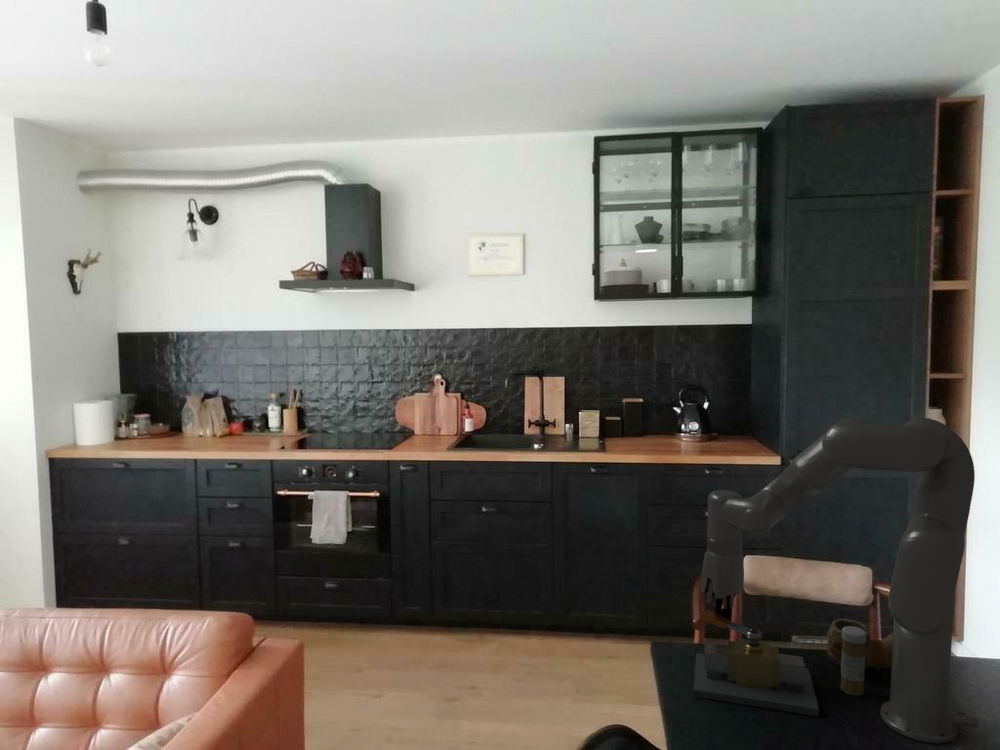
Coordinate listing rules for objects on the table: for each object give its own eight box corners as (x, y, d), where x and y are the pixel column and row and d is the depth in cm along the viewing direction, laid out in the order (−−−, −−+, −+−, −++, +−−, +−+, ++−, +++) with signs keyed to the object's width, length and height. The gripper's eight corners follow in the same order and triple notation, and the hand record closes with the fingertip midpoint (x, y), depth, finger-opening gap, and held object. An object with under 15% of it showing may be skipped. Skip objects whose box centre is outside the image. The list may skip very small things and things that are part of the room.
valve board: (808, 675, 147) (808, 668, 147) (818, 716, 132) (818, 709, 132) (696, 659, 155) (696, 653, 155) (693, 696, 140) (693, 689, 140)
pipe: (914, 683, 144) (915, 638, 143) (834, 678, 146) (836, 634, 145) (895, 661, 153) (897, 619, 152) (821, 657, 155) (822, 616, 154)
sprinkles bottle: (852, 683, 144) (854, 624, 143) (869, 695, 139) (871, 633, 138) (834, 686, 143) (836, 626, 142) (851, 698, 138) (853, 636, 137)
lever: (764, 637, 142) (764, 629, 142) (756, 642, 140) (756, 633, 140) (707, 615, 153) (707, 607, 153) (699, 619, 151) (699, 611, 151)
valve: (801, 677, 144) (802, 636, 143) (805, 695, 137) (806, 651, 136) (704, 663, 150) (705, 623, 149) (704, 679, 143) (704, 638, 142)
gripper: (730, 534, 158) (729, 608, 160) (689, 547, 150) (688, 625, 151) (758, 543, 152) (756, 620, 154) (717, 557, 143) (715, 638, 145)
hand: (722, 622), depth 152 cm, fingers closed
